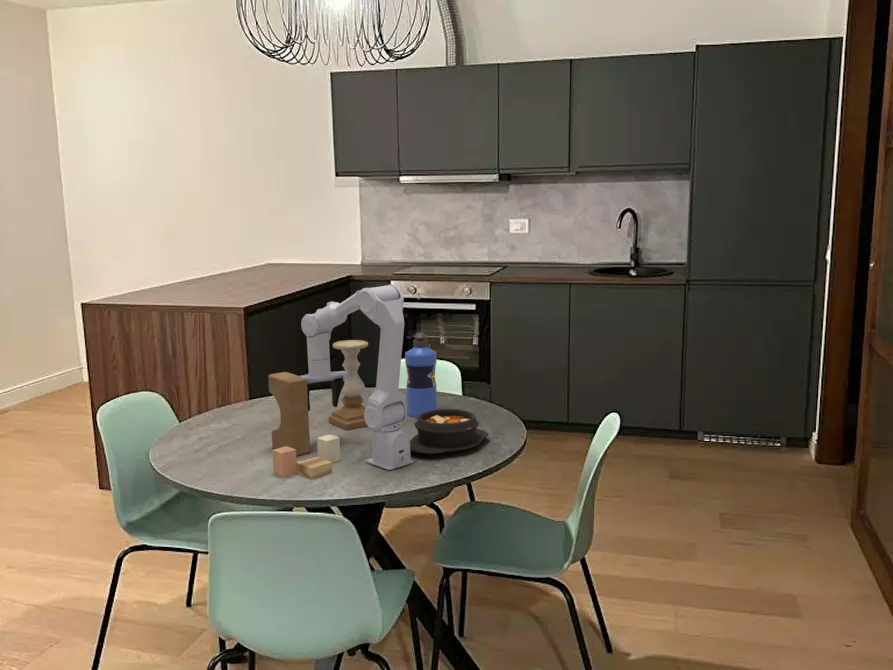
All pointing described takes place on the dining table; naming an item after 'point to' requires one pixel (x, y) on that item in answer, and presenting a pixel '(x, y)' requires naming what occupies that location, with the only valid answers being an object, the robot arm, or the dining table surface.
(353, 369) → the candle holder
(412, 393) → the water bottle
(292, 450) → the terracotta cube
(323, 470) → the oak block
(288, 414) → the decorative block
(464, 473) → the dining table surface
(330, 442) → the cream cube
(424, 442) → the casserole
